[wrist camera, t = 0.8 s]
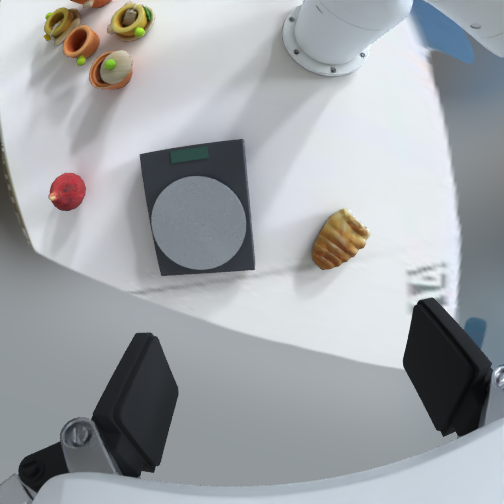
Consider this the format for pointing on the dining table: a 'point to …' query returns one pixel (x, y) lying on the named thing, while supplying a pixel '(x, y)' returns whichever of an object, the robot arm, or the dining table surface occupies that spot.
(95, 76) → the toy tea set
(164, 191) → the scale pan
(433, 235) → the dining table surface
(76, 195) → the onion
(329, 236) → the pastry
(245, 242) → the scale
